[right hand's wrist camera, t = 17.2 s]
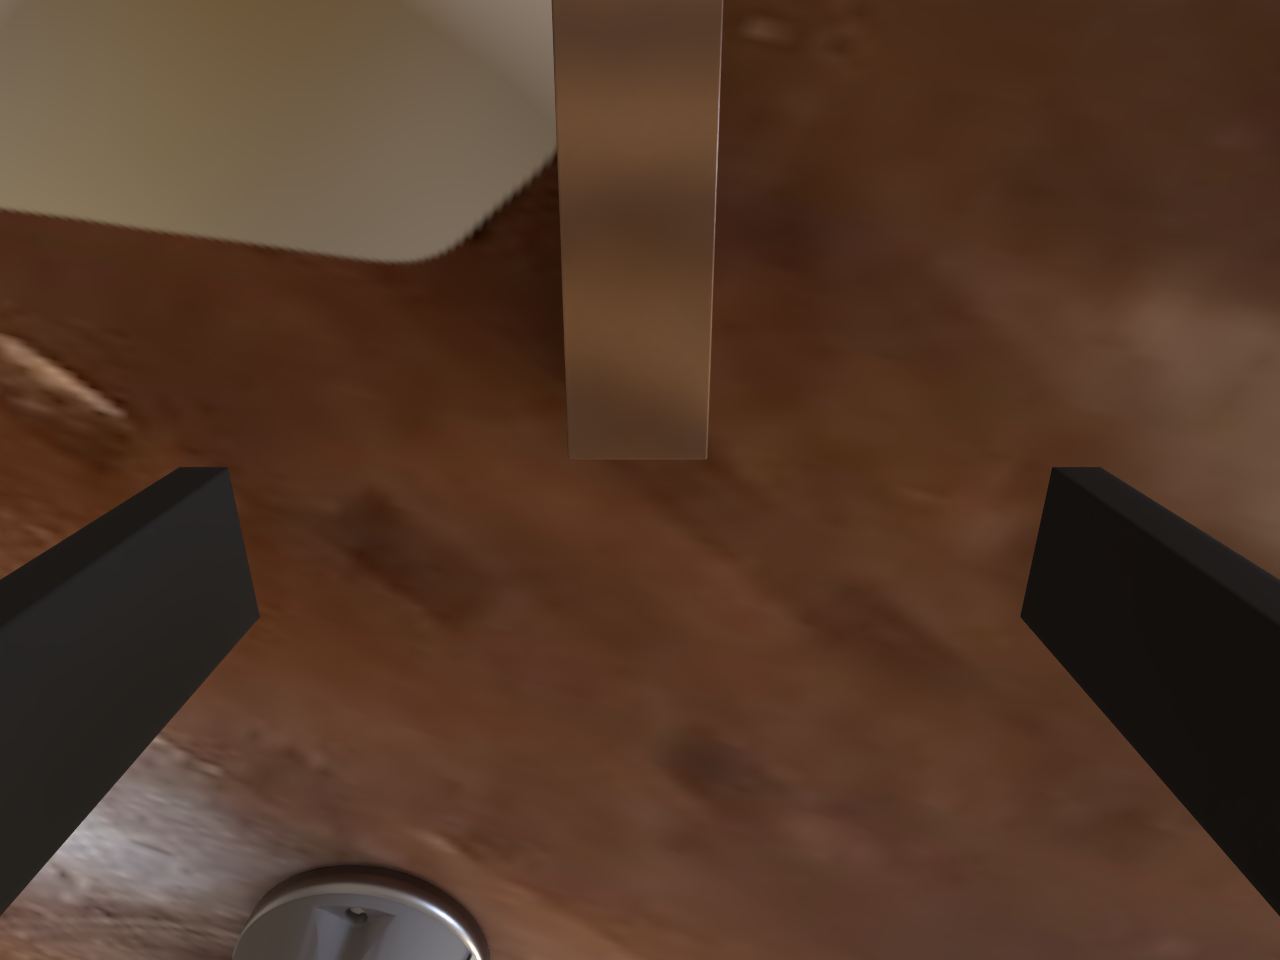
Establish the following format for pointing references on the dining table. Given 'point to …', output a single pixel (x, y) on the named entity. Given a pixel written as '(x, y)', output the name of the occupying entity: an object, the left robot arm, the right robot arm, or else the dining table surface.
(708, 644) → the dining table surface
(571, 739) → the dining table surface
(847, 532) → the dining table surface
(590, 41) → the bar
